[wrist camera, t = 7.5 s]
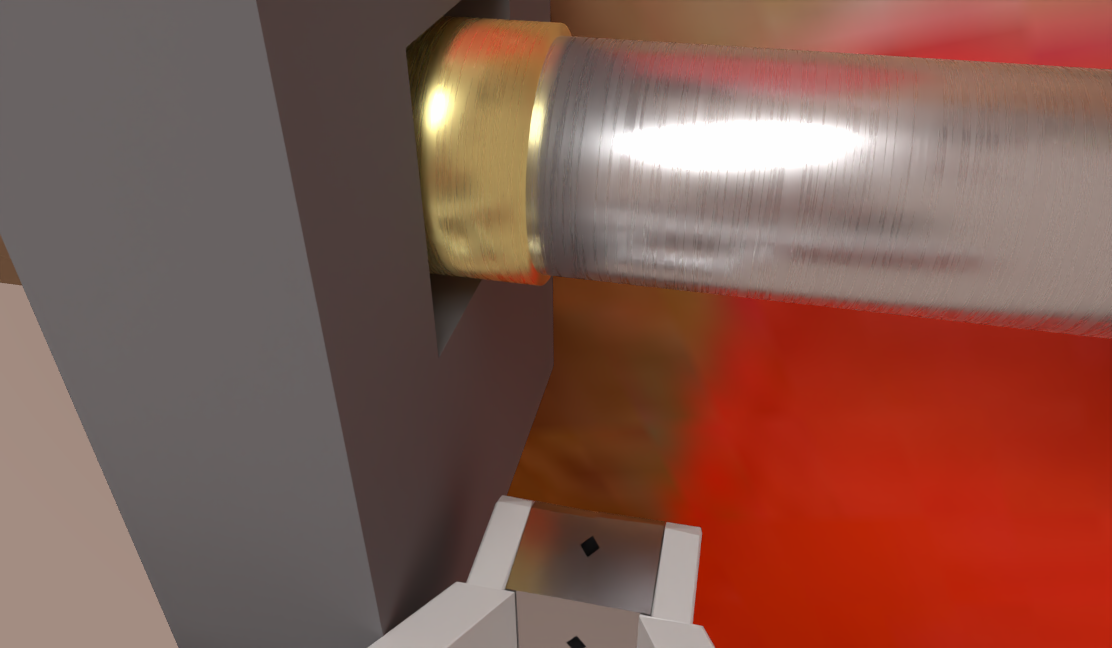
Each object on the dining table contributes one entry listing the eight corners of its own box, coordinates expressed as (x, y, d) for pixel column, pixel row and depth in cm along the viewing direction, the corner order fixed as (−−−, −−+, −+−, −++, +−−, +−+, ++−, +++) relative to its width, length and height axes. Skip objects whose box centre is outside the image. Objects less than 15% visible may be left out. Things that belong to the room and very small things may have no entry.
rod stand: (1482, -79, 13) (2247, 150, 6) (1345, 163, 15) (1794, 525, 9) (234, -117, 17) (-148, -2, 10) (273, 82, 19) (-15, 287, 12)
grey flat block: (545, -513, 11) (63, -964, 4) (553, 365, 19) (408, 764, 12) (324, -500, 11) (-477, -872, 4) (423, 348, 19) (209, 720, 12)
